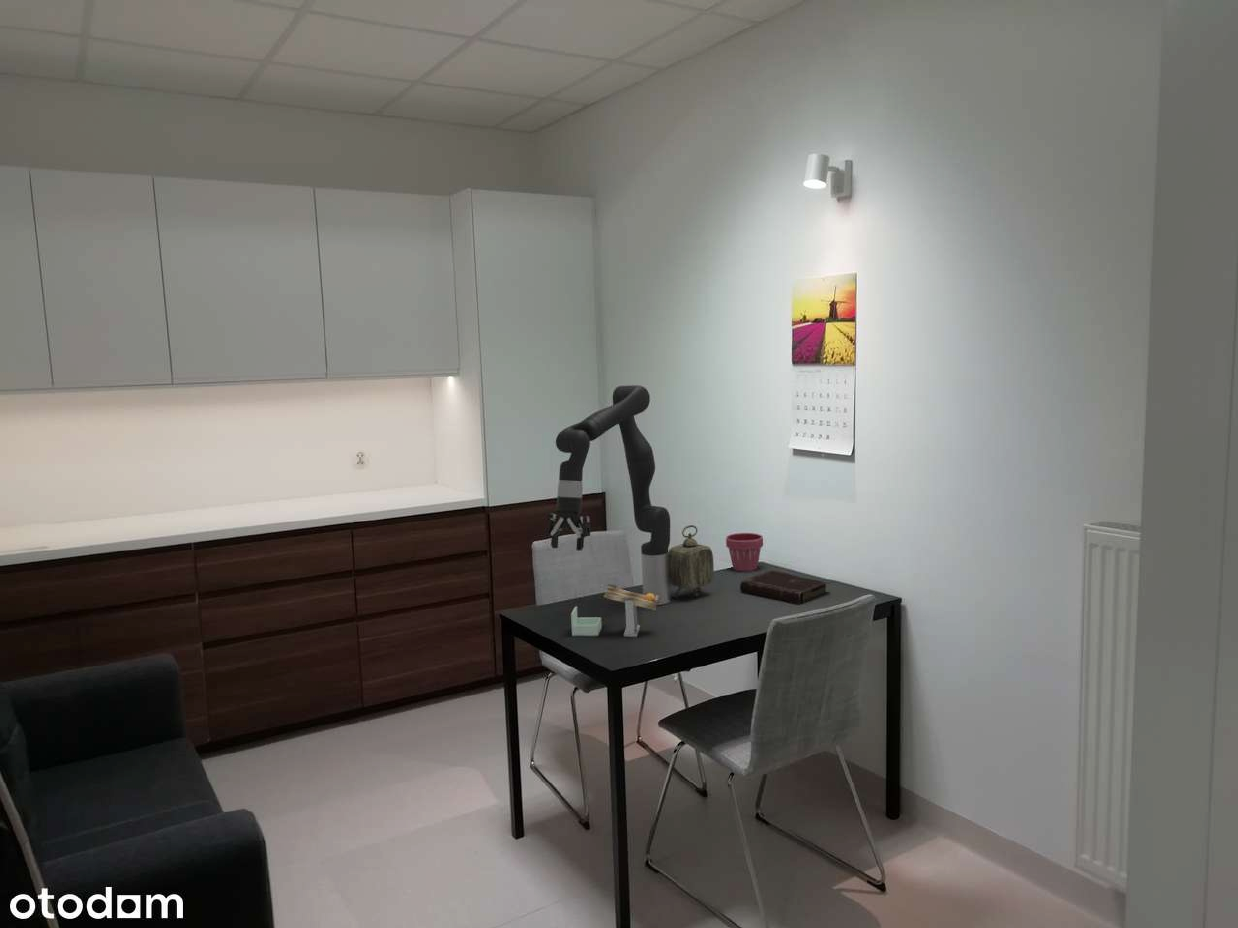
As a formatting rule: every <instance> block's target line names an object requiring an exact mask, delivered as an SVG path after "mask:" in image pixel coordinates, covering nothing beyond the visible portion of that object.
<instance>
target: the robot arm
mask: <svg viewBox="0 0 1238 928" xmlns="http://www.w3.org/2000/svg"><path fill="white" fill-rule="evenodd" d="M650 402H651V401H650V393H649V391H648V389H647V388H646V387H645V386H643V385H635V384H634V385H633V384H632V385H631V384H630V385H620V386H617V387H615V388H614V390H613V393H612V405H610V406H607V407H604V408H602V409H600V410H597V411H595V412H593V413H591V414H590V415H589V416H587V417H586V418H585V419H583V420H582V421H580V422H578V423H575V424H572V425H570V426H568V427H566V428H564V429H562V430H561V431H560V432H559V433H558V434H557V435H556V438H555V445H556V448H557V450H559V452H561V453H565V454H570V456H569V459H568V460H565V461H561V462H560V466H559V477H558V479H559V480H558V485H557V497H556V498H557V499H556V514H555V513H547V517H546V525H545V533H546V534H549V535H550V536H551V537H550V539H551V542H550V544H551V545H550V546H551V547H552V549H558V548H559V534H560V532H561V531H563V530H571V531H573V532H574V533H575V535H576V536H577V538H576V551H582V550H583V549H584V545H585V538H586V537H590V536H591V516H588V515H586V516H585V515H584V516H582V513H581V512H582V508H583V507H582V506H583V474H584V473H583V472H584V466H585V463H586V460H587V457H588V453H589V450H590V446H591V442H593V441H595V440H597V439H598V438H599V437H601V436H602V435H603V434H605V433H606V432H609V430H611V429H613V427H616V426H617V425H618V426H619V431H620V433H621V439H622V443H623V448H624V453H625V459H626V467H627V470H628V475H629V481H630V487H631V493H632V494H631V495H632V503H633V506H632V507H633V515H634V521H635V525H636V527H637V529H638V530H639V531H640V532H643V533H649V534H650V540H649V541H647V542H644V543H642V545H641V546H640V549H641V551H640V552H641V571H642V574H641V575H642V595H645V596H646V595H647V594H649V593H651V594H653V595H654V596H655V598H656V595H658V596H659V597H658V601H657V606H660V605H661V606H662V605H666V604H669V603H670V602H671V589H670V588H671V586H670V585H671V584H670V581H669V556H668V553H669V546H670V543H671V516H670V512H669V510H668V509H667V508H666V507H664V506H659V505H657V506H656V505H652V503H651V499H650V498H651V497H650V487H651V483H652V481H653V479H654V475H655V471H656V463H655V456H654V453H653V452H654V451H653V447H652V446H651V444H650V442H648V440H647V438H646V437H645V436H644V434H643V433H642V431H641V430H640V429H639V427H638V426H637V425H638V424H637V423H636V418H635V416H637V415H639V414H642V413H643V412H645V411H646V410H647V409H648V407H649V405H650ZM556 521H557V522H556ZM555 522H556V524H555ZM580 523H582V525H581V524H580Z"/></svg>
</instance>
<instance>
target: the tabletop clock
mask: <svg viewBox="0 0 1238 928" xmlns="http://www.w3.org/2000/svg"><path fill="white" fill-rule="evenodd" d="M689 528H694V529H695V532H694V533H693V534H692V533H690V532H689V533H688V535H685V534H684V532H685V531H686V529H689ZM697 533H698V528H697V526H696V525H693V524H690V525H686V526H685V527H684V528H683V529H682V531H681V534H682V536H683V538H686V539H684V541H683V542H682V543H680V544H678V545H675V546H673V547H671V548H670V549H668V556H669V581H670V585H671V586H674V587H678V589H677V591H676V592H674V593H673V597H674V598H678V597H679V592H681V590H682V589H686V590H692V589H693V590H694V594H693V595H694V597H695V598H698V597H699V596H700V594H699V592H700V591H701V590H702V588H701V587H704V586H706V585H709V584H711V583H712V582H713V578H714V568H715V567H714V564H715V563H714V555H713V551H712V549H711V547H710V546H707V545H703V544H698V542H697V539H695V538H694V537H695V536H696V535H697Z"/></svg>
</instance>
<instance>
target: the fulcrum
mask: <svg viewBox="0 0 1238 928" xmlns="http://www.w3.org/2000/svg"><path fill="white" fill-rule="evenodd" d="M624 608H625V630H624V633H623V638H626V637H627V638H628V637H629V638H630V637H633V638H636V637H638V635H639V632H640V628H641V624H638V613H637V611H638V610H637V606H636V605H634V602H633V600H625V603H624Z"/></svg>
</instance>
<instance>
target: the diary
mask: <svg viewBox="0 0 1238 928" xmlns="http://www.w3.org/2000/svg"><path fill="white" fill-rule="evenodd" d="M827 584H830V582H829V581H825V580H824V581H823V580H818V579H812V578H807V577H802V576H798V575H794V574H791V573H788V572H782V571H776V570H768V571H765V572H763V573H759V574H757V575H753V576H752V577H748V578H746V579H745V580H741V581H740V585H739V588H740V592H741V593H742V594H748V595H753V596H757V597H760V598H761V597H762V598H767V599H770V600H774V601H775V600H776V601H780V602H785V603H789V604H794V605H799V606H800V605H801V604H802V603H805V602H807V601H810V600H816V599H819V598H822V597H824V596H825V597H826V596H827V595H829V594H830V593H831V592H830V591H827Z"/></svg>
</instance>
